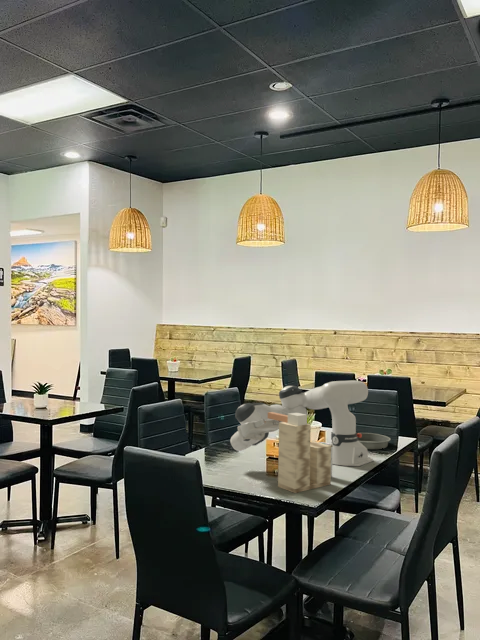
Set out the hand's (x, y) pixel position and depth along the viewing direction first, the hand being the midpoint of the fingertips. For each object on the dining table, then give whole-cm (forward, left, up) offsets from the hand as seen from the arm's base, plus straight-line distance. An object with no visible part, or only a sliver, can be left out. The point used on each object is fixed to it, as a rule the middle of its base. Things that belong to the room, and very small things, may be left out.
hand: (272, 419), depth 238 cm
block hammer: (-1, +8, 0) cm, 8 cm away
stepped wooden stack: (-7, +13, -26) cm, 29 cm away
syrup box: (-23, +8, -26) cm, 35 cm away
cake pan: (-89, -23, -26) cm, 95 cm away
